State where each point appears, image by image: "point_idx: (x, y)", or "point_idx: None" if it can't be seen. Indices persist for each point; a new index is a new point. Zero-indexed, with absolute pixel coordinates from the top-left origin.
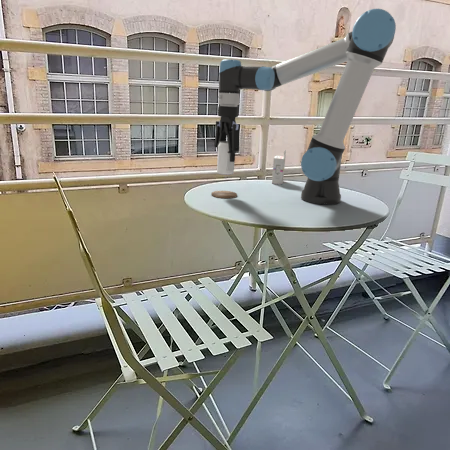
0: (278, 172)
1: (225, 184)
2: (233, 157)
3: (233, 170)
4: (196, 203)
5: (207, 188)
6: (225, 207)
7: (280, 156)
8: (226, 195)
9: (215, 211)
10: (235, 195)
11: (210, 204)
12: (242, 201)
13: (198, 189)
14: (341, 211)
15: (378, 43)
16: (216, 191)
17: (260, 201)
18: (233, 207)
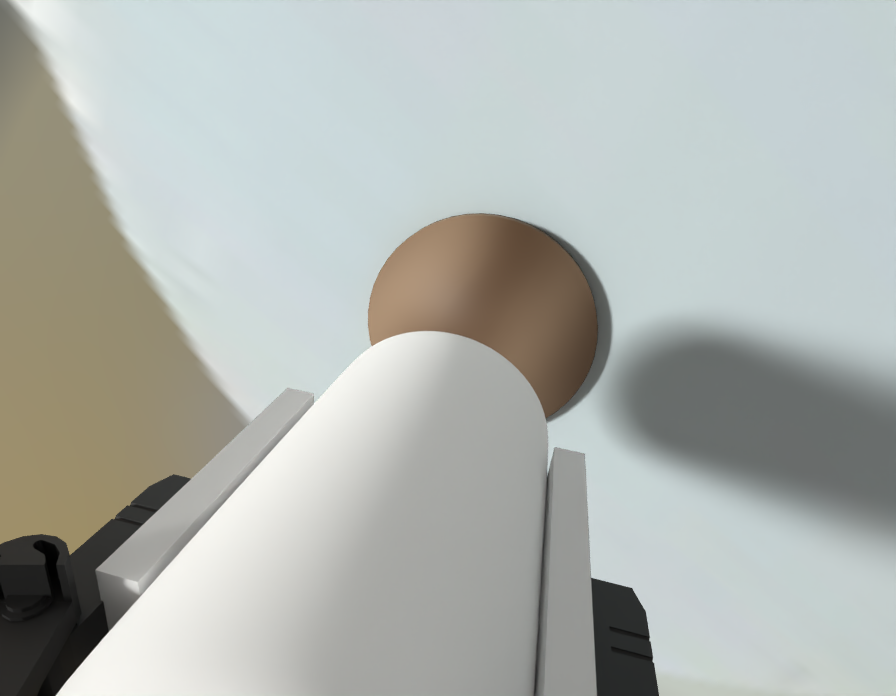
0: None
1: (122, 10)
2: (631, 681)
3: (533, 410)
4: None
5: (223, 290)
6: (767, 557)
7: None
8: (539, 360)
9: (786, 656)
10: (585, 292)
11: (634, 575)
12: (740, 341)
13: (232, 372)
14: None
15: None
16: (382, 336)
17: (878, 189)
18: (813, 519)
